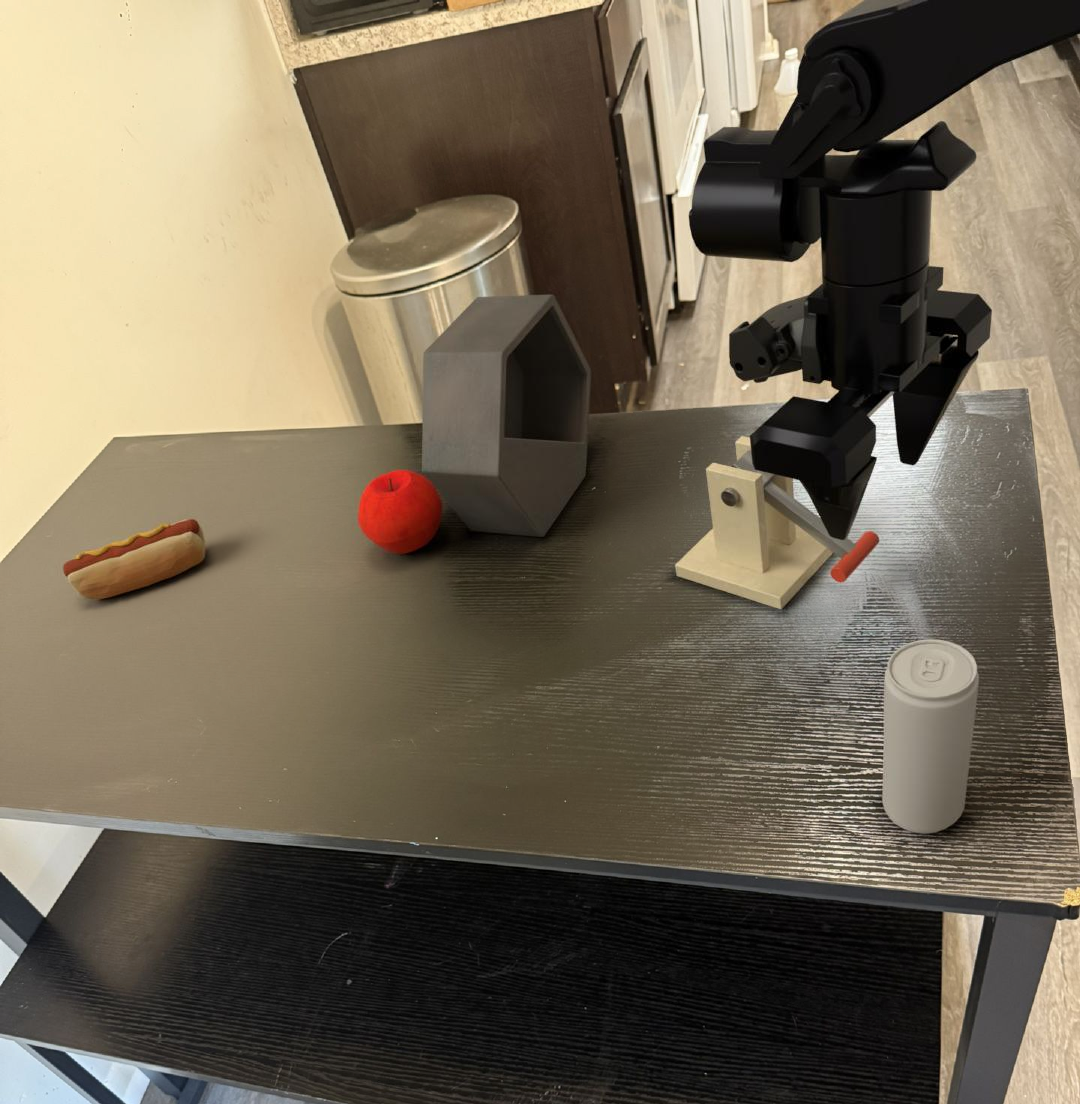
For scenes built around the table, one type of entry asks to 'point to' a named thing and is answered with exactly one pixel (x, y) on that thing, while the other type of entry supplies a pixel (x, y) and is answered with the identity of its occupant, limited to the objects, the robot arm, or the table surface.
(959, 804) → the beverage can
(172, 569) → the food
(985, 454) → the table surface
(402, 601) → the table surface
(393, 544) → the apple
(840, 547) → the lever
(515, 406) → the planter
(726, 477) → the bracket
